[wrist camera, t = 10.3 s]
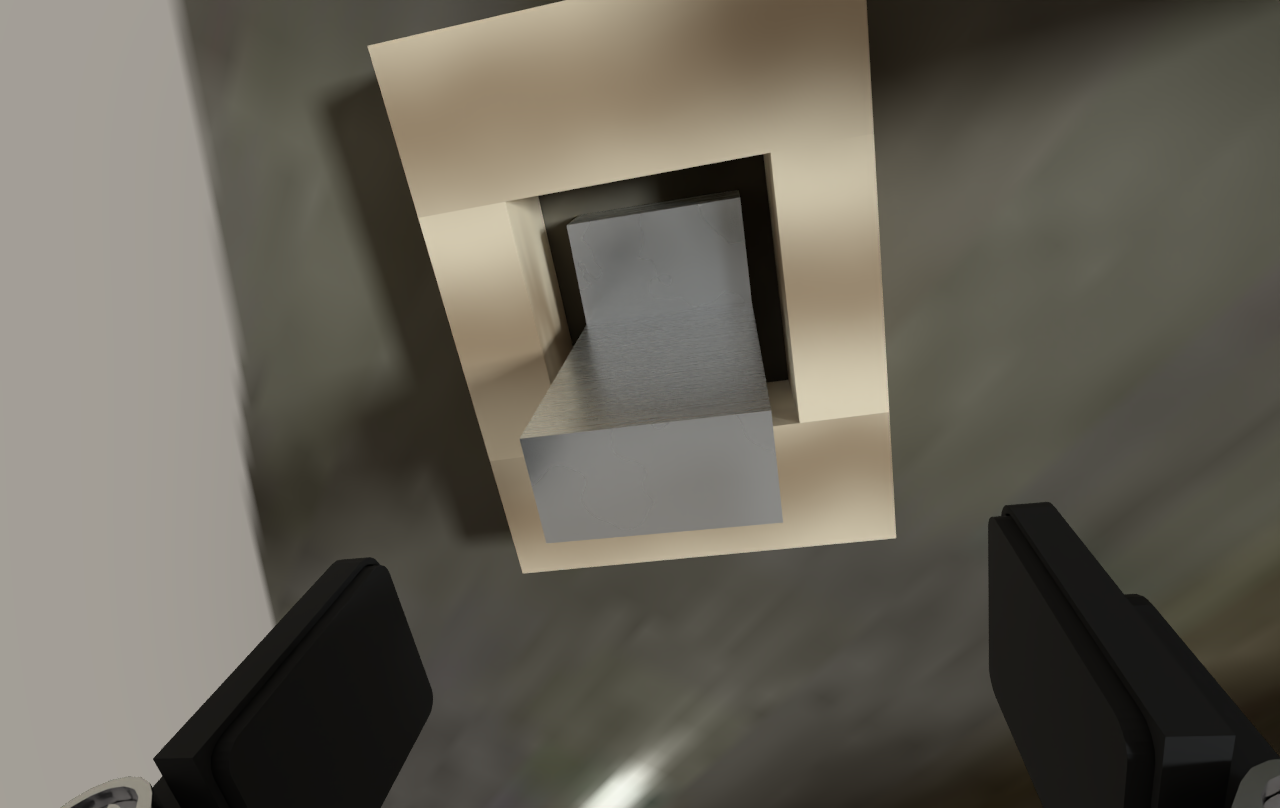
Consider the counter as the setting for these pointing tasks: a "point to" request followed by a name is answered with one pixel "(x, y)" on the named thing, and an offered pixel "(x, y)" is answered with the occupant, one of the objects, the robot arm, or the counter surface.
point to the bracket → (657, 382)
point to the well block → (645, 145)
